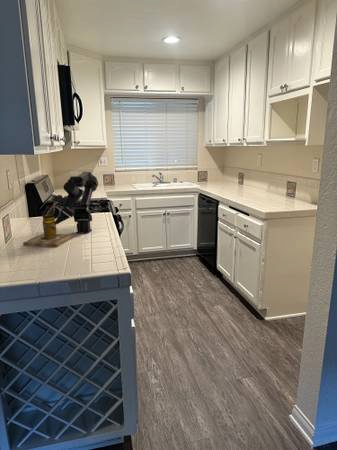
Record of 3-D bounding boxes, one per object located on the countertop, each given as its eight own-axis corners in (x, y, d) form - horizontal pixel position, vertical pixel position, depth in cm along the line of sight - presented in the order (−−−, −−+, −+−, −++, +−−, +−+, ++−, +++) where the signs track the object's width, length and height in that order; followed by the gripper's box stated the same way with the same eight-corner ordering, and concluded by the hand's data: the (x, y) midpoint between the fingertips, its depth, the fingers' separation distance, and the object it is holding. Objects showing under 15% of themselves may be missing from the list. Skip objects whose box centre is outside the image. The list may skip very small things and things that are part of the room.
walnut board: (73, 237, 163) (73, 234, 162) (57, 246, 147) (56, 243, 147) (42, 236, 166) (42, 233, 166) (23, 245, 151) (23, 242, 151)
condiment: (59, 238, 156) (57, 215, 153) (42, 241, 151) (39, 217, 148) (55, 235, 162) (52, 212, 159) (38, 238, 157) (35, 215, 154)
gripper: (55, 186, 163) (35, 209, 160) (64, 190, 147) (43, 216, 144) (72, 199, 169) (53, 222, 166) (82, 204, 153) (62, 229, 150)
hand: (52, 222), depth 156 cm, fingers open, 9 cm apart
